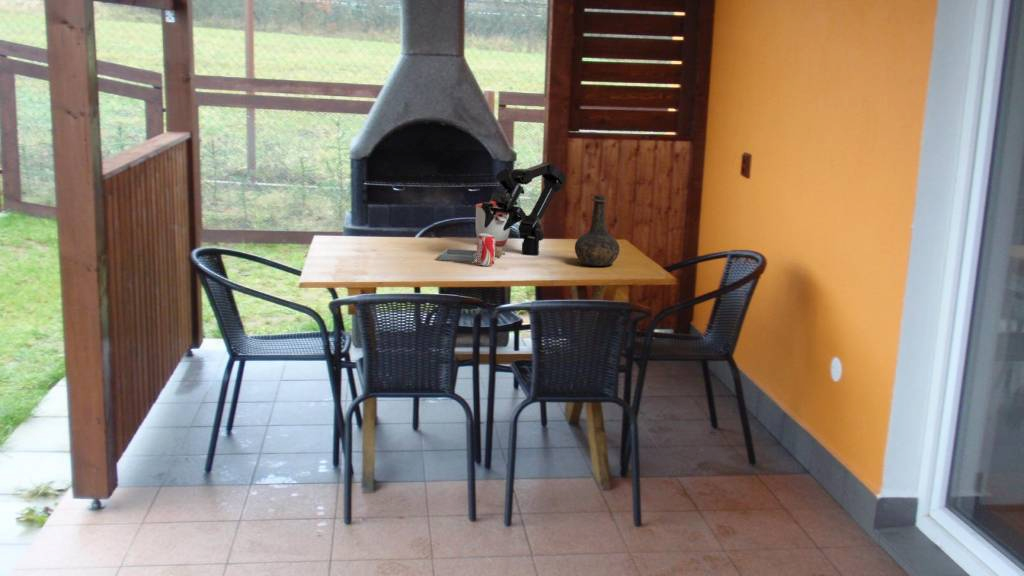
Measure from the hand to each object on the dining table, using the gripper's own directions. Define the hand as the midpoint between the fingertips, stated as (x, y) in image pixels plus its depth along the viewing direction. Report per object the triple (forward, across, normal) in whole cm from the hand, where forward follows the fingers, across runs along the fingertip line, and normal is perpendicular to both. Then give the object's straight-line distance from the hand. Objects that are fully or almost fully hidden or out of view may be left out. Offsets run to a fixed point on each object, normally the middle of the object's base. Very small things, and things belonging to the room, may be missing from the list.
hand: (494, 228), depth 392 cm
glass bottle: (-7, +31, +29) cm, 43 cm away
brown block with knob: (+3, -8, +16) cm, 19 cm away
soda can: (+15, +2, +3) cm, 15 cm away
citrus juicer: (-10, -24, +32) cm, 42 cm away
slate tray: (+14, -13, +4) cm, 19 cm away
